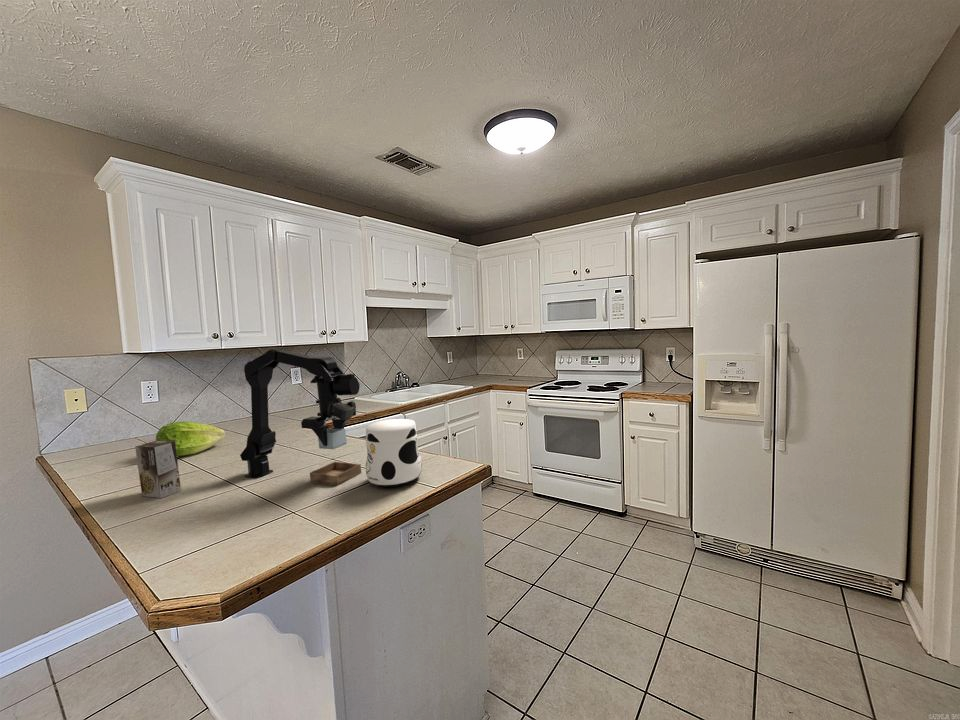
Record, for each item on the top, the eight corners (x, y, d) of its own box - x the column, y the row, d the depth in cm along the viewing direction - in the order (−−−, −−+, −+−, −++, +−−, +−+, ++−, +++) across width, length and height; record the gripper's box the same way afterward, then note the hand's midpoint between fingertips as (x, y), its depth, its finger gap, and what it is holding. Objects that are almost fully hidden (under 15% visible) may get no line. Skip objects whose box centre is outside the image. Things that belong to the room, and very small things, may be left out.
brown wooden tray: (310, 482, 128) (309, 472, 128) (335, 469, 139) (334, 461, 138) (337, 485, 124) (336, 476, 124) (361, 472, 134) (360, 464, 134)
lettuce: (231, 450, 173) (231, 417, 175) (160, 459, 155) (160, 422, 157) (219, 450, 185) (219, 419, 186) (152, 458, 167) (152, 424, 168)
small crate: (319, 448, 129) (317, 433, 128) (332, 443, 134) (331, 428, 134) (333, 449, 126) (331, 433, 126) (346, 443, 132) (345, 428, 132)
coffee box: (182, 490, 127) (176, 440, 126) (160, 498, 121) (154, 447, 120) (162, 488, 130) (156, 439, 129) (140, 496, 124) (134, 445, 123)
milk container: (356, 483, 125) (351, 426, 124) (401, 466, 138) (397, 415, 136) (387, 496, 114) (382, 434, 112) (434, 477, 126) (430, 421, 125)
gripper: (325, 401, 117) (330, 453, 119) (366, 390, 135) (370, 436, 136) (297, 401, 122) (303, 451, 123) (340, 391, 139) (345, 435, 140)
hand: (332, 443), depth 130 cm, fingers closed on small crate, 6 cm apart
